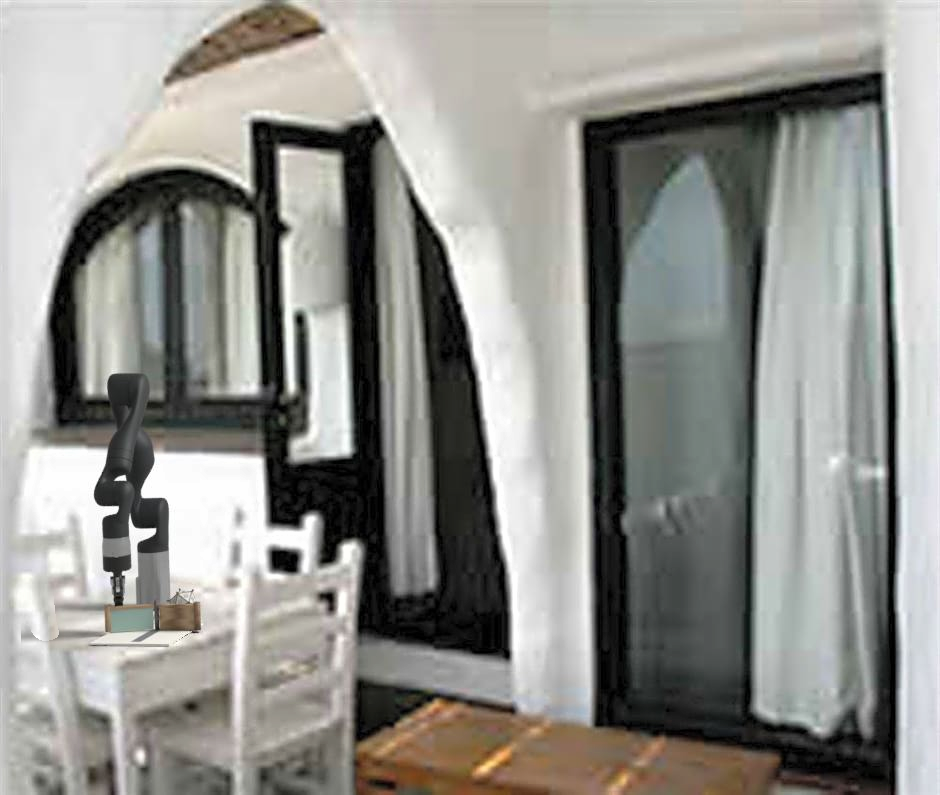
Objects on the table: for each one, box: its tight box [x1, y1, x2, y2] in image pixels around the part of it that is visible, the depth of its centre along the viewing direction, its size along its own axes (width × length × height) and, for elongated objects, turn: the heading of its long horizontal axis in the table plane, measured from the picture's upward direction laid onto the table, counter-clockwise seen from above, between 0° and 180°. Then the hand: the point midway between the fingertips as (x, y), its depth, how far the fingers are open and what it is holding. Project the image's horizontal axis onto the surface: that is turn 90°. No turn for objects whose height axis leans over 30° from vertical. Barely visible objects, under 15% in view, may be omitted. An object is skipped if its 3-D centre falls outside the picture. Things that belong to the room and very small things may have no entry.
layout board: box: [88, 622, 204, 647], centre depth 317 cm, size 24×24×1 cm
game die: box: [166, 588, 202, 607], centre depth 339 cm, size 9×8×10 cm
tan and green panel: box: [103, 604, 155, 633], centre depth 319 cm, size 13×2×7 cm, turn 101°
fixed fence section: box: [153, 600, 202, 632], centre depth 319 cm, size 13×2×8 cm, turn 82°
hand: (119, 615), depth 322 cm, fingers closed
